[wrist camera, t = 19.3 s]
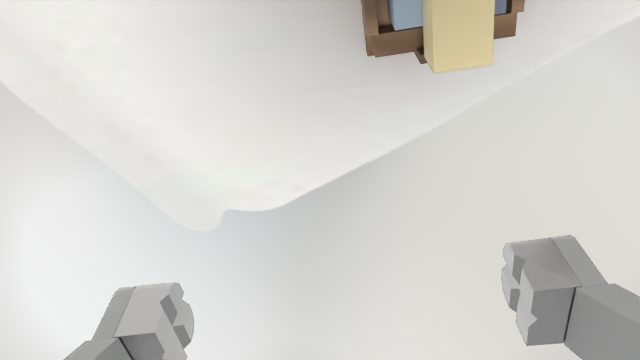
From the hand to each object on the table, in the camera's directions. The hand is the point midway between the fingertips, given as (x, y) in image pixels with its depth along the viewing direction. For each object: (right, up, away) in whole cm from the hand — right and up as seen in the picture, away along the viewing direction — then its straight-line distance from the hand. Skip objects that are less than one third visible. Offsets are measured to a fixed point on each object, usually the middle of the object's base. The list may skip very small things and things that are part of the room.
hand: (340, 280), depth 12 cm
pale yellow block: (+9, +16, +21) cm, 28 cm away
